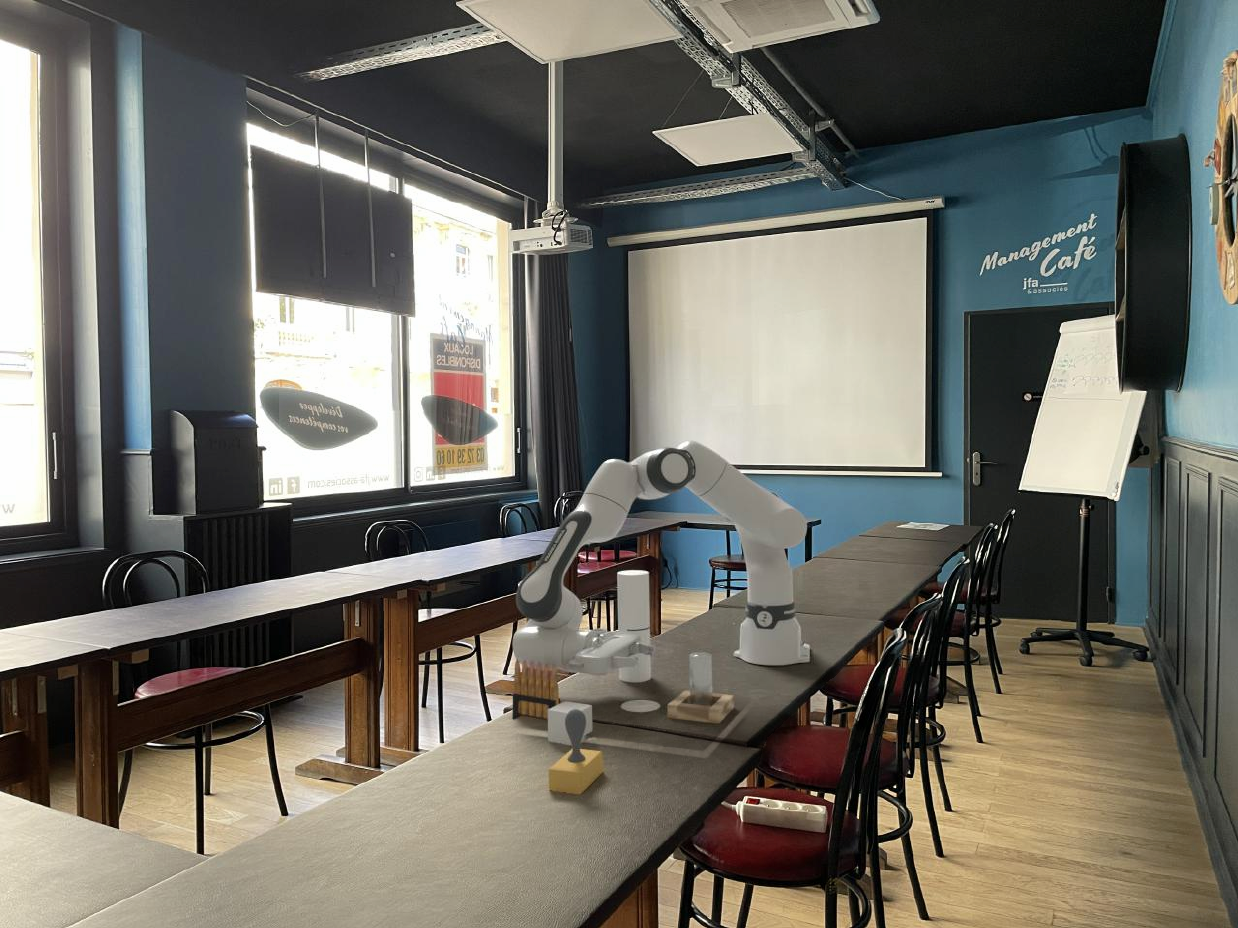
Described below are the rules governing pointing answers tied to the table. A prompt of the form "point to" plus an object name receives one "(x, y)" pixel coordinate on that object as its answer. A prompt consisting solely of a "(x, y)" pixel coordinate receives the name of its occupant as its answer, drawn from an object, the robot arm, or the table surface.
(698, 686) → the clear glass tube
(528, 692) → the ammunition clip
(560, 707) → the light grey cube
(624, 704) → the stand disc
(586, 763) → the rubber stamp
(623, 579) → the cylindrical container
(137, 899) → the table surface
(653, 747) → the table surface
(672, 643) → the table surface
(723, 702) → the beige wooden square frame
